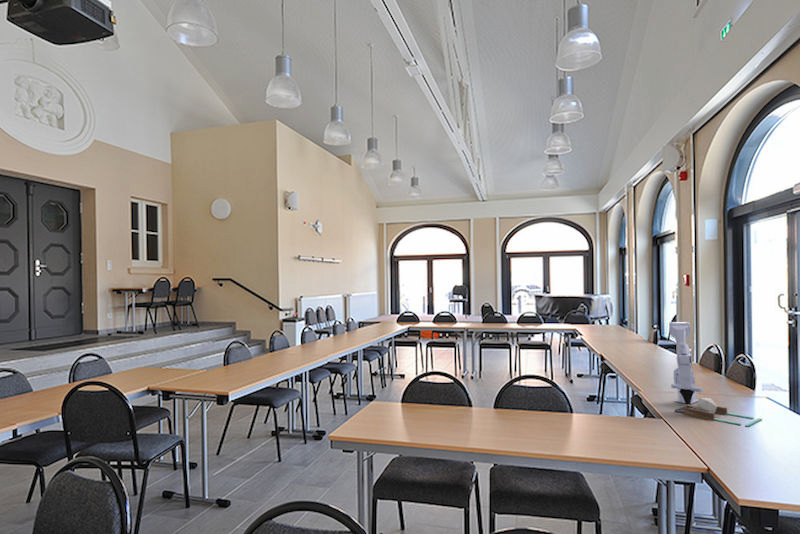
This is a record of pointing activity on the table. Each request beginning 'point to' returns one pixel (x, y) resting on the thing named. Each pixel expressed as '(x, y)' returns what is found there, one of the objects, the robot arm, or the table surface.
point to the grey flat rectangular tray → (683, 408)
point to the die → (706, 405)
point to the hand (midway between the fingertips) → (688, 404)
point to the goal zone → (739, 416)
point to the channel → (705, 414)
